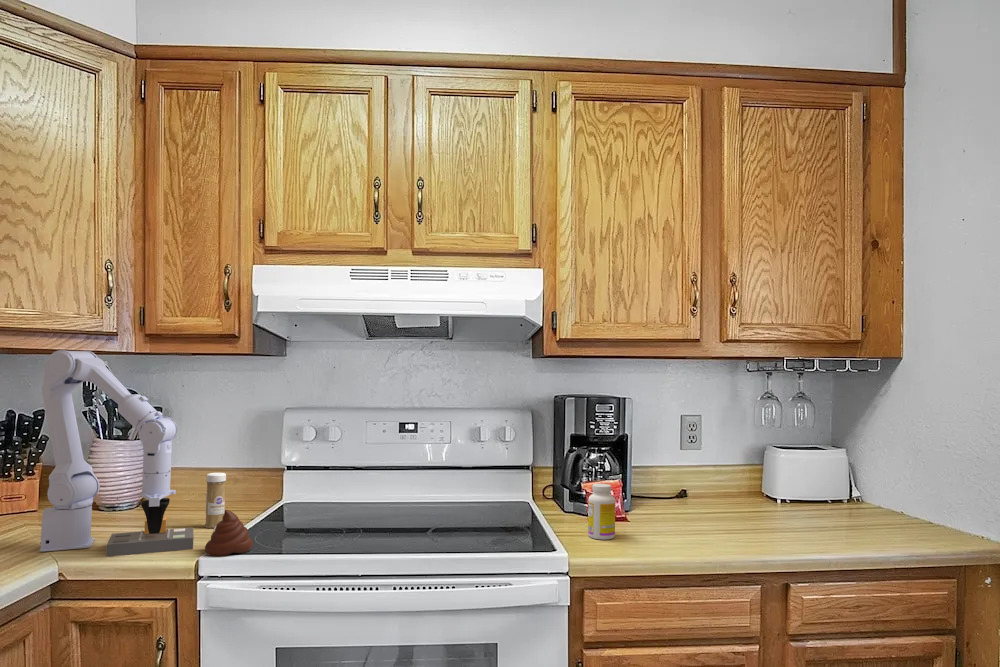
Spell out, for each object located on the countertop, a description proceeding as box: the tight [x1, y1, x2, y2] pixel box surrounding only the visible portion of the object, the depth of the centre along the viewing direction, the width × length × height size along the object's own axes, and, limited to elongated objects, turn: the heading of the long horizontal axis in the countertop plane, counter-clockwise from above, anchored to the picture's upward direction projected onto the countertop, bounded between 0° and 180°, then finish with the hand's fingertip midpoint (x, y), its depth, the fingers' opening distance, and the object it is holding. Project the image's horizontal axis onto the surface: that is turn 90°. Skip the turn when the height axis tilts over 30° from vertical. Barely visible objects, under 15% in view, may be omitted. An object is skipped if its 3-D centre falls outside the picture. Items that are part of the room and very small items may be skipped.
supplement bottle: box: [587, 483, 616, 541], centre depth 171 cm, size 7×7×13 cm
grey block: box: [105, 527, 194, 557], centre depth 155 cm, size 17×10×3 cm, turn 114°
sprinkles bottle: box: [204, 472, 227, 529], centre depth 174 cm, size 5×5×14 cm
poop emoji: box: [204, 509, 254, 557], centre depth 153 cm, size 10×8×9 cm
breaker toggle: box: [144, 516, 168, 534], centre depth 158 cm, size 4×3×3 cm
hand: (154, 532), depth 154 cm, fingers closed
